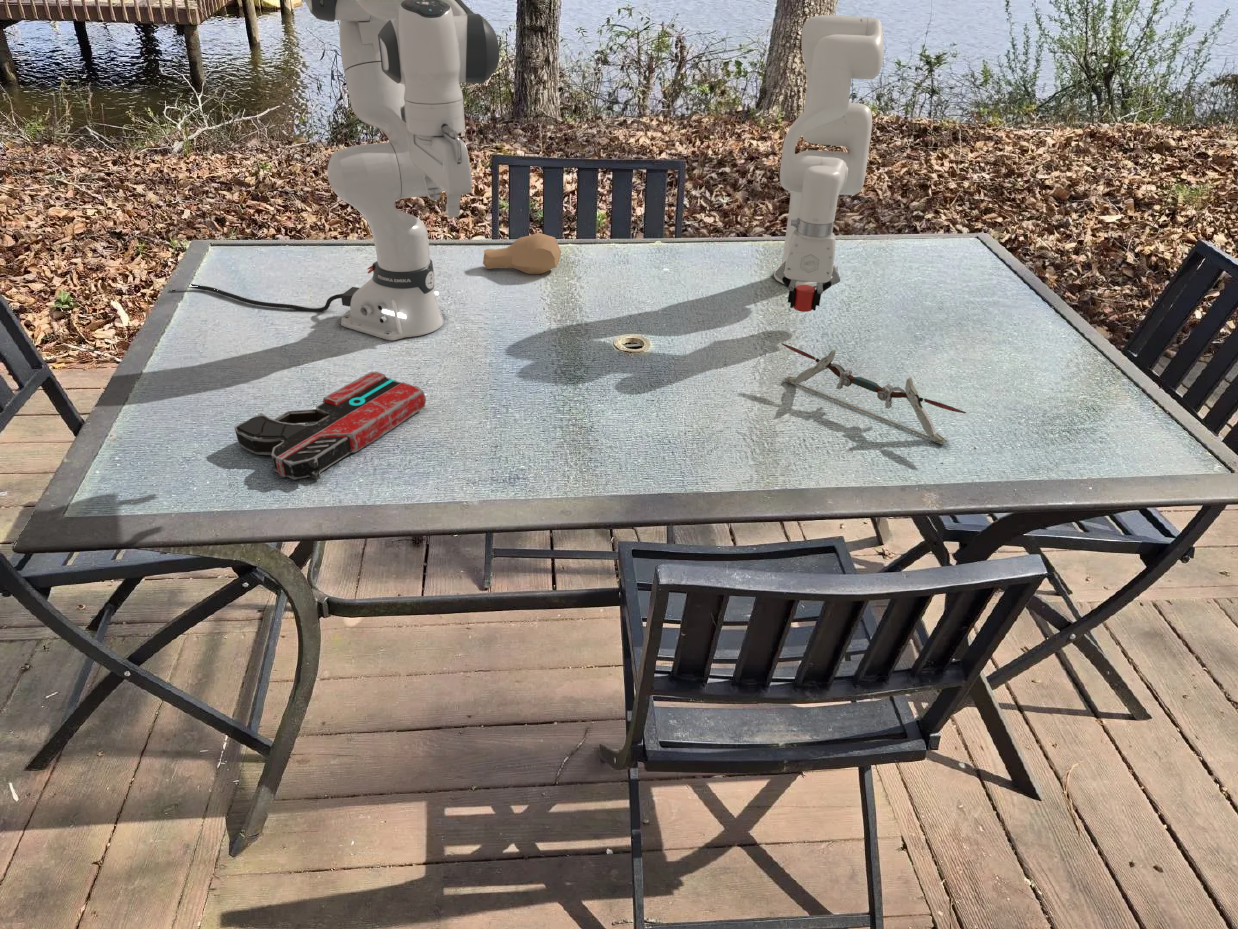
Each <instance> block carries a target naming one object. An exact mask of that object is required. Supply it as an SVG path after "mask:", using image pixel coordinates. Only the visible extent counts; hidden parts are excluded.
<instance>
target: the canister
mask: <svg viewBox="0 0 1238 929" xmlns="http://www.w3.org/2000/svg"><path fill="white" fill-rule="evenodd" d="M795 288H796V292H795V299H794V305H793V308H792V309H794V310H796V311H797V312H802V313H807V312H808V313H809V312H812V311H813V310H812V308H813V301H814V295H815V290H816V288H815V287H812V286H809V285H799V286H797V287H795Z"/></svg>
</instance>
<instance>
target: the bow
mask: <svg viewBox="0 0 1238 929" xmlns="http://www.w3.org/2000/svg"><path fill="white" fill-rule="evenodd" d="M780 345H782V346H784V347H785V348H787V349H789V350H790V351H793V352H794V353H796V354H799V355H801V356H803V357H805V358H808V359H810V360H813V361H815V363H816V364H815V365H812V366H810V367H809V368H807V369H805V370H803V371H802V372H800V373H799V374H798V375H797V376H787V377H784V381H785V382H786V383H788V384H790V385H797V386H799V387H802V388H804V389H806V390H809V391H811V392H814V393H816V394H819V395H821V396H824V397H826V398H828V399H831V400H834V401H836V402H839V403H840V404H844V405H846V406H849V407H851V408H853V409H856V410H859V411H860V412H862V413H866V414H868V415H871V416H874V417H876V418H879V419H881V420H884V421H886V422H888V423H891V424H893V425H896V426H898V427H900V428H904V429H906V430H907V431H911V432H914V433H915V434H919V435H921V436H923V437H925V438H928V439H930V440H931V441H933V442H934V443H937V444H940V445H945V443H947V441H948V440H947V439H946V438H945V437H944V436H942V435H941V434H939V433H938V432H936V428H935V426H934V423H933V421H932V419H931V417H930V416H929V414H928V412H927V411H926V409H925V408H924V406H923V404H922V402H923V401H924V402H925V403H927V404H929V405H932V406H935V407H937V408H940V409H944V410H947V411H951V412H955V413H960V414H967V412H966V411H964V410H961V409H958V408H956V407H953V406H951V405H948V404H945V403H942V402H939V401H935V400H932V399H929V398H923V397H920V395H919V392H918V390H917V388H916V387H915V385H914V381H913V379H912V377H908V378H907V379H906V382H905V387H904V389H903V388H902V387H900V386H895V387H893V386H892V385H891V384H890V383H887V384H886V385H885V386H883V387H882V386H880V385H879V384H878V383H877V382H875V381H873V380H870V379H868V378H864V377H862V376H853V375H852V374H853V370H852V369H846V370H845V368H844V367H843V366H842V365H841V364H838V363H835V362H833V361H834V360H835V356H836V349H832V350H831V351H830V352H829V353H828V354H827V355H826V356H823V357H822V358H821V359H820V358H818V357H815V355H814V356H813V355H812V354H810V353H808V352H805V351H803V350H801V349H798V348H796V347H793V346H791V345H788V344H786V343H783V342H781V343H780ZM832 362H833V363H832ZM827 369H829V370H830V371H831V372H832V373H833V374H834V375H835V376H837V378H839V380H838V382H837V384H836V390H839V391H840V390H841V389H843V388H844V387H846V388H849V387H850V386H852V384H853V385H855V386H858V387H859V388H863V389H865V390H868V391H870V392H873V393H877V395H876V396H877V399H879V400H880V401H884V402H885V403H884V405H885V406H884V408H885V409H887V410H889V409H891V408H892V407H893V405H892V404H893V400H892V399H902V398H903V399H904V398H905V399H906V400H907V401H908V403H909V404H910V406H911V407H912V409H913V411H914V412H915V415H916V417H917V419H918V421H919V423H920V424H921V427H922V429H923V430H924V433H925V434H926V435H925V434H924V433H921V432H918V431H916V430H913V429H911V428H908V427H905V426H904V425H901V424H898V423H896V422H893V421H890V420H889V419H887V418H884V417H881V416H879V415H876V414H873V413H871V412H869V411H866V410H863V409H861V408H858V407H856V406H854V405H851V404H849V403H846V402H844V401H842V400H839V399H836V398H834V397H831V396H830V395H826V394H824V393H822V392H819V391H817V390H814V389H812V388H809V387H806V386H804V385H801V384H802V383H803V382H807V381H808V380H810V379H811V378H812V377H813V376H815V375H817V374H819V373H821V372H823V371H825V370H827Z"/></svg>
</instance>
